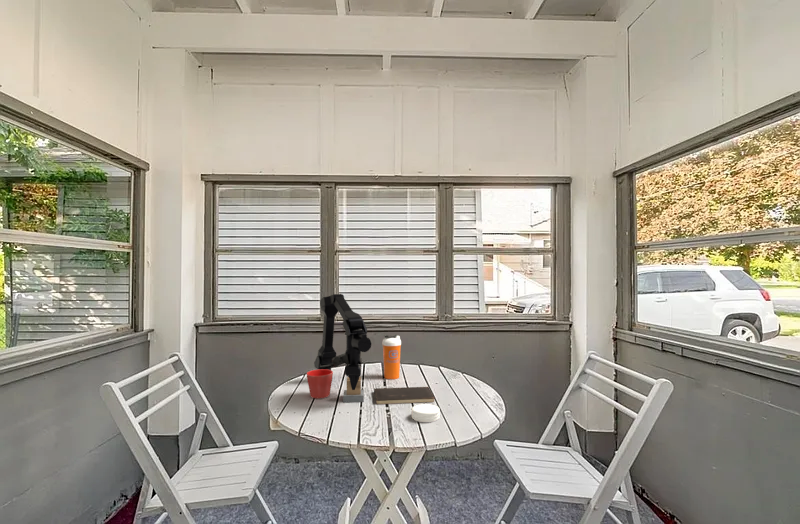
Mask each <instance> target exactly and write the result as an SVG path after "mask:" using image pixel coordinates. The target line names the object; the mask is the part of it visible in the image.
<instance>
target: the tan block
mask: <svg viewBox="0 0 800 524" xmlns="http://www.w3.org/2000/svg"><path fill="white" fill-rule="evenodd" d="M346 390H347V395H361V390H362V377H361V376H360V378H359V380H358V383H357V385H356V388H355V390H352V388H351V383H350V379H349V377H348V376H346Z"/></svg>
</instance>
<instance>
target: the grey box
mask: <svg viewBox="0 0 800 524" xmlns="http://www.w3.org/2000/svg"><path fill="white" fill-rule="evenodd" d="M364 398H365V389H361V395H347V389H344V390H343V395H342V402H343V403H364V402H365V399H364Z"/></svg>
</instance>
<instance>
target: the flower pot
mask: <svg viewBox="0 0 800 524" xmlns="http://www.w3.org/2000/svg"><path fill="white" fill-rule="evenodd" d="M333 375H334V372H333V370H332V369H331V370H327V369H313V370H308V371H307V372H306V380H307V385H308V389H309V396H310V397H311V398H312V399H317V400H318V399H325V398H328V397H330V395H331V388H332V382H333V379H332V377H333Z"/></svg>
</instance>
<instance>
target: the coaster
mask: <svg viewBox="0 0 800 524" xmlns="http://www.w3.org/2000/svg"><path fill="white" fill-rule="evenodd" d="M440 410H441V409H440V407H439V406H437V405H434V404H429V403H424V404H423V403H421V404H420V403H419V404H416V405H414V406H412V408H411V418H412V419H411V420H413V419H414V420H413V421H415V422H418V423H434V422H437V421H439V420H440V417H441V416H440V414H441V413H440V412H441V411H440Z"/></svg>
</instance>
